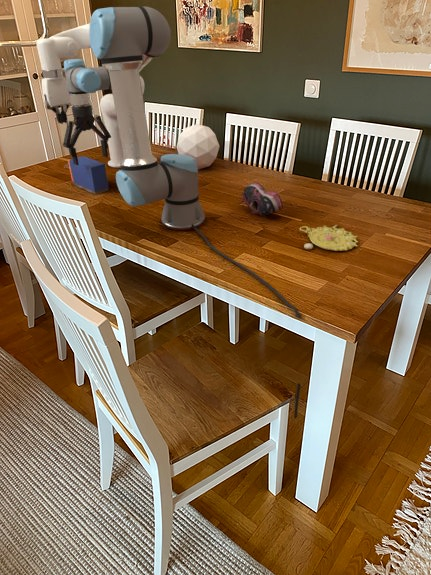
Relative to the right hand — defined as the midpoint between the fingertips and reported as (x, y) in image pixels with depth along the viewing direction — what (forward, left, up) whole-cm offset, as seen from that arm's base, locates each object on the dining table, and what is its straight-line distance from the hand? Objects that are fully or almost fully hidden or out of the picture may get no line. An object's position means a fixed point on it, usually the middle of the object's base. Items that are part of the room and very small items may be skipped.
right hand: (91, 160), depth 180 cm
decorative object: (-64, -78, -12) cm, 102 cm away
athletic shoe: (-37, -61, -12) cm, 72 cm away
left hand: (+15, +11, +12) cm, 22 cm away
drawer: (+9, +6, -11) cm, 16 cm away
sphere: (+20, -46, -12) cm, 52 cm away
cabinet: (+3, +2, -12) cm, 13 cm away
